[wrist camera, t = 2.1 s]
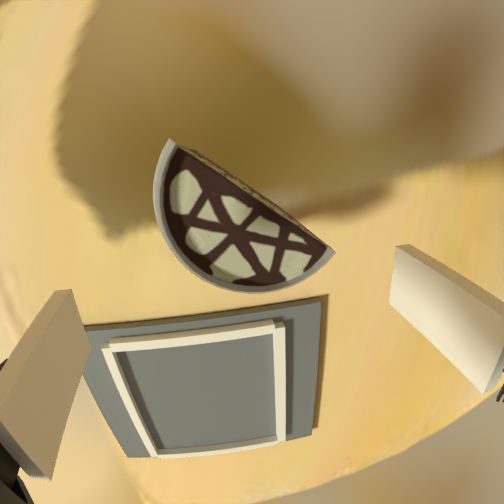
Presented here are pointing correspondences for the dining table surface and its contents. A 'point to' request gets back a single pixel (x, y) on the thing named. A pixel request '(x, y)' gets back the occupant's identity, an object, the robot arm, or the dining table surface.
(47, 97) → the dining table surface
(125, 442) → the dock board
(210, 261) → the food container
